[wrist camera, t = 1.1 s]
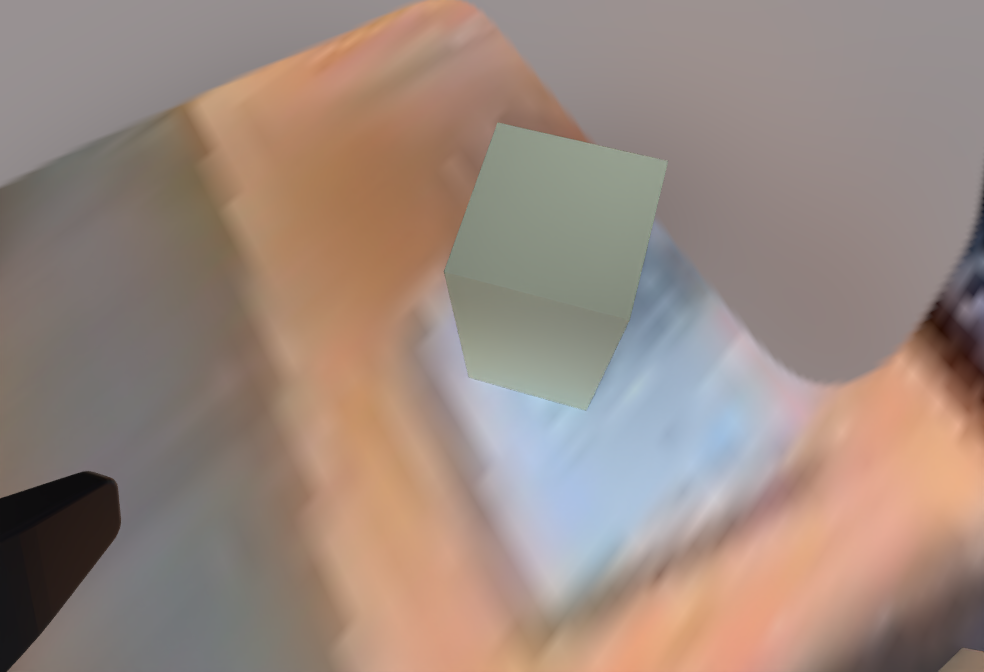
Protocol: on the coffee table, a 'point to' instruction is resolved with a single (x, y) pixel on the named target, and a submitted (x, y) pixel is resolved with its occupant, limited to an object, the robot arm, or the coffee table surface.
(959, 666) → the tower base slab
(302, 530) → the coffee table surface
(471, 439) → the coffee table surface
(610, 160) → the sage block
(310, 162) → the coffee table surface
